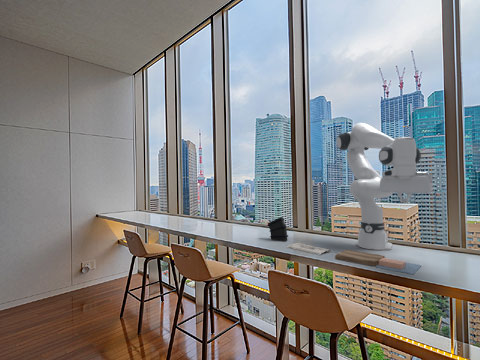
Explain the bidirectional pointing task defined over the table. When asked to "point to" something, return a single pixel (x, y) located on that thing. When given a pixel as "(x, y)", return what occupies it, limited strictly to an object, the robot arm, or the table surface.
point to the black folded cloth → (278, 229)
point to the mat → (408, 268)
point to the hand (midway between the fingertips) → (404, 202)
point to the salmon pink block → (392, 263)
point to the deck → (359, 257)
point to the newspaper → (308, 248)
